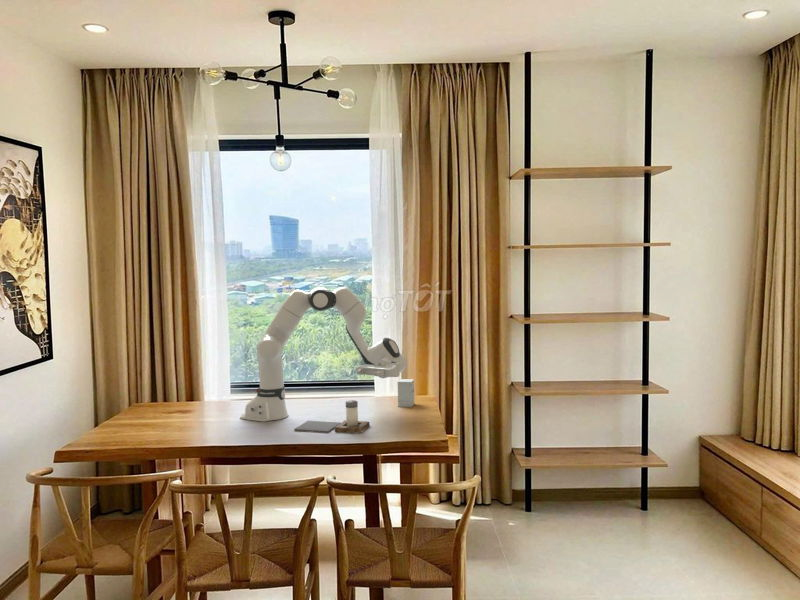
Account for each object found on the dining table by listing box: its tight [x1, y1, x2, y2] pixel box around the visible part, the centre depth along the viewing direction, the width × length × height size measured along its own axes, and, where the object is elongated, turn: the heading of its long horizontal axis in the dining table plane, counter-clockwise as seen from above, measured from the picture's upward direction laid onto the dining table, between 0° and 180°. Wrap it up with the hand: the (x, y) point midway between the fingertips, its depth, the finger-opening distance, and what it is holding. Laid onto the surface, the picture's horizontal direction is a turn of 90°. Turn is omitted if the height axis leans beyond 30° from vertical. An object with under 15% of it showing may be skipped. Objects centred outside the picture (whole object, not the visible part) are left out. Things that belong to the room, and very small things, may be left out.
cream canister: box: [345, 399, 359, 427], centre depth 275 cm, size 5×5×12 cm
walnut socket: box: [334, 419, 370, 434], centre depth 275 cm, size 12×12×2 cm
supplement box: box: [397, 378, 415, 408], centre depth 316 cm, size 7×7×13 cm
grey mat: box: [293, 420, 341, 434], centre depth 279 cm, size 16×14×1 cm
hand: (366, 373), depth 284 cm, fingers open, 8 cm apart
